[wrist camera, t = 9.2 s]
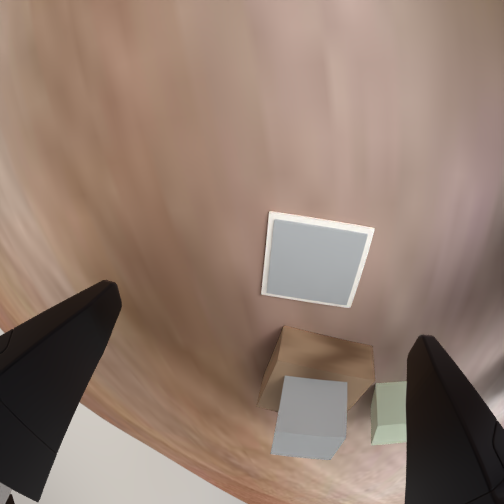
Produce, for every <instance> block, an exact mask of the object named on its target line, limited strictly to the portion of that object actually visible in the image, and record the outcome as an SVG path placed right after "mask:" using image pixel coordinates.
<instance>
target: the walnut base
mask: <svg viewBox="0 0 504 504" xmlns="http://www.w3.org/2000/svg"><path fill="white" fill-rule="evenodd" d="M285 376H292V377H300V378H309V379H318V380H328V381H339V382H347V411H348V410H349V409H350V408H351V407H352V406H353V405H354V404H355V403H356V402H357V401H358V399H359V398H360V397H361V396H362V395H363V394H364V393H365V392H366V391H367V389H368V388H369V387H370V386H371V385H372V384H373V382H374V381H375V371H374V358H373V346H370V345H365V344H361V343H356V342H352V341H347V340H343V339H338V338H334V337H329V336H325V335H321V334H317V333H313V332H309V331H304V330H300V329H296V328H292V327H288V326H285V325H284V326H283V329H282V332H281V334H280V337H279V339H278V342H277V344H276V347H275V349H274V352H273V354H272V357H271V359H270V361H269V364H268V366H267V369H266V371H265V374H264V376H263V380H262V385H261V389H260V394H259V398H258V403H257V407H259V408H263V409H267V410H272V411H276V412H279V406H280V400H281V395H282V389H283V383H284V377H285Z"/></svg>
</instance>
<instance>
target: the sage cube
mask: <svg viewBox="0 0 504 504" xmlns="http://www.w3.org/2000/svg"><path fill="white" fill-rule="evenodd" d="M406 386H407V381H401V382H389V383H376V385H375V389H374V394H373V399H372V403H371V445H383V444H394V443H403V442H407V436H406Z"/></svg>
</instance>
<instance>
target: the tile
mask: <svg viewBox="0 0 504 504" xmlns="http://www.w3.org/2000/svg"><path fill="white" fill-rule="evenodd" d="M374 230H375V229H374V228H372V227H367V226H361V225H355V224H349V223H343V222H337V221H331V220H325V219H319V218H313V217H306V216H300V215H293V214H287V213H280V212H273V211H269V220H268V230H267V241H266V251H265V261H264V271H263V281H262V291H261V294H262V295H268V296H274V297H280V298H286V299H292V300H299V301H305V302H311V303H318V304H325V305H331V306H338V307H345V308H350V307H351V304H352V301H353V298H354V295H355V292H356V289H357V286H358V283H359V280H360V277H361V274H362V271H363V268H364V264H365V261H366V258H367V254H368V251H369V248H370V244H371V241H372V237H373V234H374Z"/></svg>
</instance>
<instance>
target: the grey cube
mask: <svg viewBox="0 0 504 504" xmlns="http://www.w3.org/2000/svg"><path fill="white" fill-rule="evenodd" d="M346 424H347V382H339V381H328V380H318V379H309V378H300V377H292V376H285V377H284V383H283V389H282V395H281V400H280V406H279V412H278V417H277V423H276V428H275V433H274V439H273V444H272V449H271V454H275V455H282V456H291V457H300V458H310V459H323V460H331V458H332V457H333V456H334V454H335V453H336V451H337V450H338V449H339V447H340V446H341V444H342V443H343V441H344V440H345V439H346Z"/></svg>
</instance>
